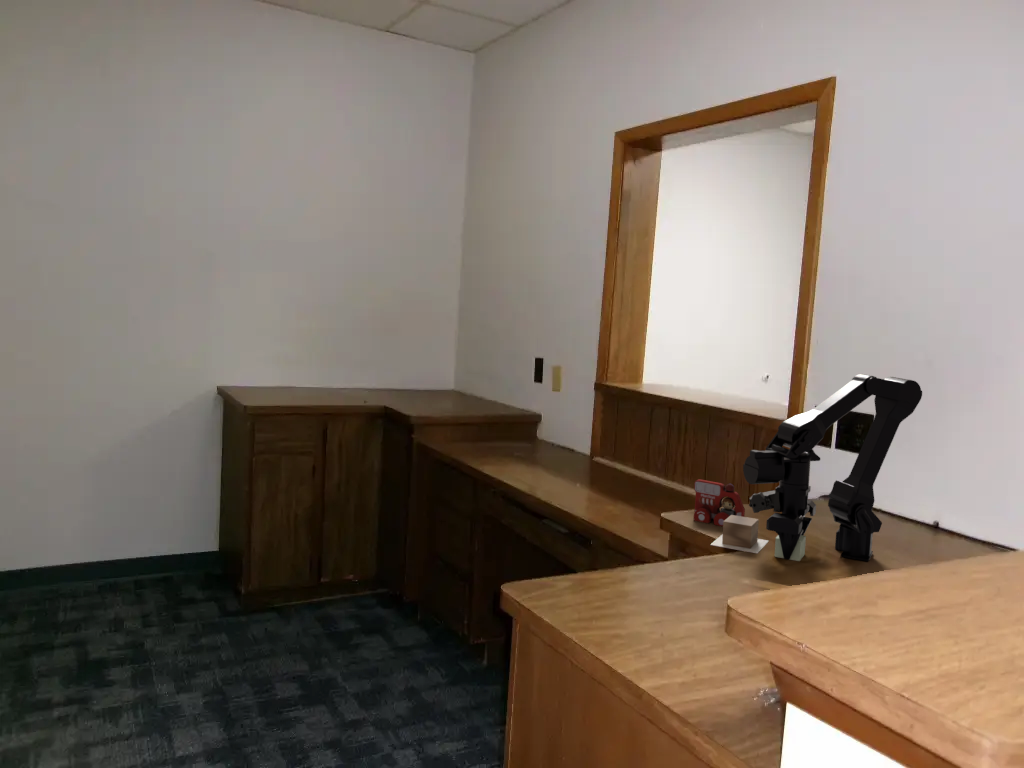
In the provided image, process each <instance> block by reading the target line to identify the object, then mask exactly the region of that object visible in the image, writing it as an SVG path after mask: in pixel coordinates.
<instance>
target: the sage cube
mask: <svg viewBox="0 0 1024 768" xmlns="http://www.w3.org/2000/svg"><path fill="white" fill-rule="evenodd" d="M806 537H807V536H806V535H804V536H803V535H801V536H800V538H799V540H798V543H797V545H796V547H795V549H794V551H793V553H792V555H791V557H790V559H789V560H790V561H796V562H800V561H801V560H802V558H803V557H804V556H805V555H806V552H805V551H806V541H807V540H806V539H807V538H806ZM774 542H775V543H774V544H775V545H774V557H775V558H781V559H784V556H783V552H782V547H781V543H780V538H779V535H778V534H777V535H776V537H775V541H774Z"/></svg>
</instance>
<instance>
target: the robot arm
mask: <svg viewBox="0 0 1024 768" xmlns="http://www.w3.org/2000/svg"><path fill="white" fill-rule="evenodd" d="M871 396H874V409H875V415H874V418H873V420H872V423H871V425H870V427H869V429H868V433H867V434H866V436H865V437H864V438H865V439H864V440H863V441H864V442H863V443H862V445H861V448H860V450H859V452H858V455H857V457H856V459H855V461H854V463H853V466H852V469H851V471H850V473H849V475H848V477H846V478H845V479H844V480H839V479H836V480H835V481H834V483H833V486H832V489H831V492H829V493H828V495H827V497H828V498H829V499H828V502H827V507H828V508H829V511H830V513H831V514H832V517H833V521H834V522H835V523H838V524H840V525H838V526H839V527H838V529H837V531H836V532H835V542H834V543H835V544H834V545H835V547H834V550H837V551H841V552H842V553H841V555H840V557H841V558H847V559H852V560H858V561H865V562H869V561H870V560H871V559H872V556H873V554H874V552H873V551H872V549H873V537H874V533H879V532H880V530H881V527H882V524H883V522H882V520H880V518H879V517H878V516H877V515H876V514H875V513H874V512H873V507H874V503H875V493H874V484H875V483H876V479H877V477H878V475H879V473H880V471H881V469H882V466H883V464H884V461H885V458H886V457H887V454H888V451H889V450H890V447H891V444H892V443H893V441H894V437H896V433H897V431H898V429H899V427H900V425H901V423H902V422H903V421H904V420H906V419H907V418H908V417H909V416H911V415H912V414H913V413H914V411H916V408H917V407H918V406H919V404H920V402H921V400H922V397H923V390H922V389H921V386H920V384H919V383H918V382H917V381H915V380H912V379H906V378H901V377H896V376H895V377H894V376H888V377H886V378H879V377H877V376H874V375H870V374H869V375H868V374H863V373H861V374H859V373H858V374H857V375H854V376H853V377H852V378H851V380H850V381H849V382H847V383H846V384H845V385H844V386H843V387H841V388H840V389H838V390H837V391H836V392H834V393H832V394H831V395H830V396H829V397H828V398H826V399H824V400H823V401H822V402H821V403H819V404H818V405H816V406H815V407H813V408H812V409H810V410H809V411H806V412H802V413H799V414H795V415H793V416H792V417H789V418H788V419H786V420H784V421H782V422H781V423H780V424H779V426H778V427H777V432H776V433H775V435H774V436H773V438H772V439H771V440H770V441H769V443H768V444H767V446H766V447H765V450H757V449H751V450H749V456H747V457H746V458H745V461H744V463H743V465H742V471H743V475H744V478H745V481H746V482H747V484H749V485H760V484H761V485H762V484H763V485H765V484H778V483H779V485H778V486H776V487H775V489H774V490H769V491H764V492H761V491H760V492H758V493H753V494H752V495H751V496H750V497H749V499H748V500H749V504H748V506H749V507H750V508H752V511H753V513H754V514H758V513H760V512H762V511H767V510H772V509H773V512H774V513H773V514H772V515H771V516H769V517H768V518H767V519H766V524H765V525H766V528H765V530H767V531H770V532H771V531H772V532H775V533H776V535H777V536H778V535H779V538H780V543H781V547H782V552H783V556H784V558H783V559H784V560H790V557H791V555H792V553H793V551H794V549H795V547H796V545H797V543H798V540H799V538H800V536H801V535H803V536H805V534H806V532H807V530H808V528H809V526H810V525H811V523H812V520H813V518H812V517H814V516H815V515H816V513H817V504H816V503H815V502H814V500H812V499H809V493H810V492H811V487H812V486H811V485H810V473H811V471H810V470H811V462H819V461H821V457H820V456H819V455H818V454H817V453H816V452H815V451H814V448H816V446H817V445H818V444H819V443H820V442H821V441H822V440H823V439H824V437H825V433H827V430H828V429H829V428H830V427H831V426H832V425H834V424H835V423H836V422H838V421H839V420H840V419H842V418H843V417H844V416H846V415H847V414H849V413H850V412H851V411H853V409H855V408H857V406H859V405H860V404H862V403H863V402H864V401H866V400H867V399H869V398H870V397H871ZM808 513H809V517H807V516H806V515H807V514H808ZM810 516H811V517H810Z"/></svg>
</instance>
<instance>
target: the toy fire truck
mask: <svg viewBox="0 0 1024 768" xmlns="http://www.w3.org/2000/svg"><path fill="white" fill-rule="evenodd" d="M693 484H694V486H693V490H694V491H695V497H694V498H695V500H694V501H695V502H694V511H693V512H694V513H693V520H694V522H699V523H700V522H701V523H704V524H710V523H711V522H712V520H713V524H714V525H715V526H719V527H723V521H724V520H726V519H727V518H728V517H729V516H730V515H736V516H742V517H745V515H746V514H745V513H746V509H745V506H744V504H743V501H742V498H741V496H740V494H739V493H738V492H737V491H735V486H734V485H733V484H732V483H728V484H726V485H725V484H724V483H721V482H717V481H716V482H715V481H712V480H711V481H710V480H705V479H699V478H698V479H697V480H695V481H694V483H693ZM721 507H722V508H721Z"/></svg>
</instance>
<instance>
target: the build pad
mask: <svg viewBox="0 0 1024 768" xmlns="http://www.w3.org/2000/svg"><path fill="white" fill-rule="evenodd" d="M722 539H723V533H722V534H720V536H718V537H717V538H716V539H715V540H714V541H713V542H711V544H710V546H714V547H720V548H726V549H731V550H737V551H741V552H748V553H753V554H759V553H760V551H761V550H762V549H763V548H764V547H765V546H766V545H767V544H768V542H769V540H768V539H767V540H766V539H762V538H758V540H757V542H756V543H755V544H754V545H753V547H752V548H751V549H748V548H743V547H737V546H732V545H726V544H722Z"/></svg>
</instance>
